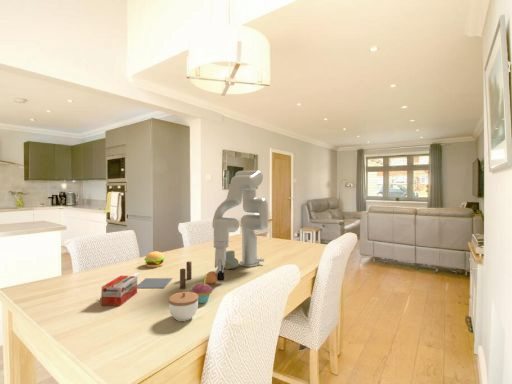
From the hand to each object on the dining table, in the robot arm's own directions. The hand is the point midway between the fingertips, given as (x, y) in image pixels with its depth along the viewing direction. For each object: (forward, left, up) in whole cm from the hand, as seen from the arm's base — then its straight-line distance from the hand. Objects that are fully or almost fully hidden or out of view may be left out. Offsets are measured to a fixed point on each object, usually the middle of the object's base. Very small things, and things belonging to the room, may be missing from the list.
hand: (220, 279), depth 138 cm
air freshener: (-2, -27, -2) cm, 27 cm away
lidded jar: (+10, +37, -2) cm, 38 cm away
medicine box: (+41, +19, -2) cm, 46 cm away
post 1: (+18, +6, -2) cm, 19 cm away
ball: (+5, 0, +1) cm, 5 cm away
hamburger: (+45, -32, -2) cm, 55 cm away
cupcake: (+6, +22, -2) cm, 23 cm away
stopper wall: (+46, 0, -2) cm, 46 cm away
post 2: (+18, -7, -2) cm, 19 cm away
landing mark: (+34, 0, -2) cm, 34 cm away
